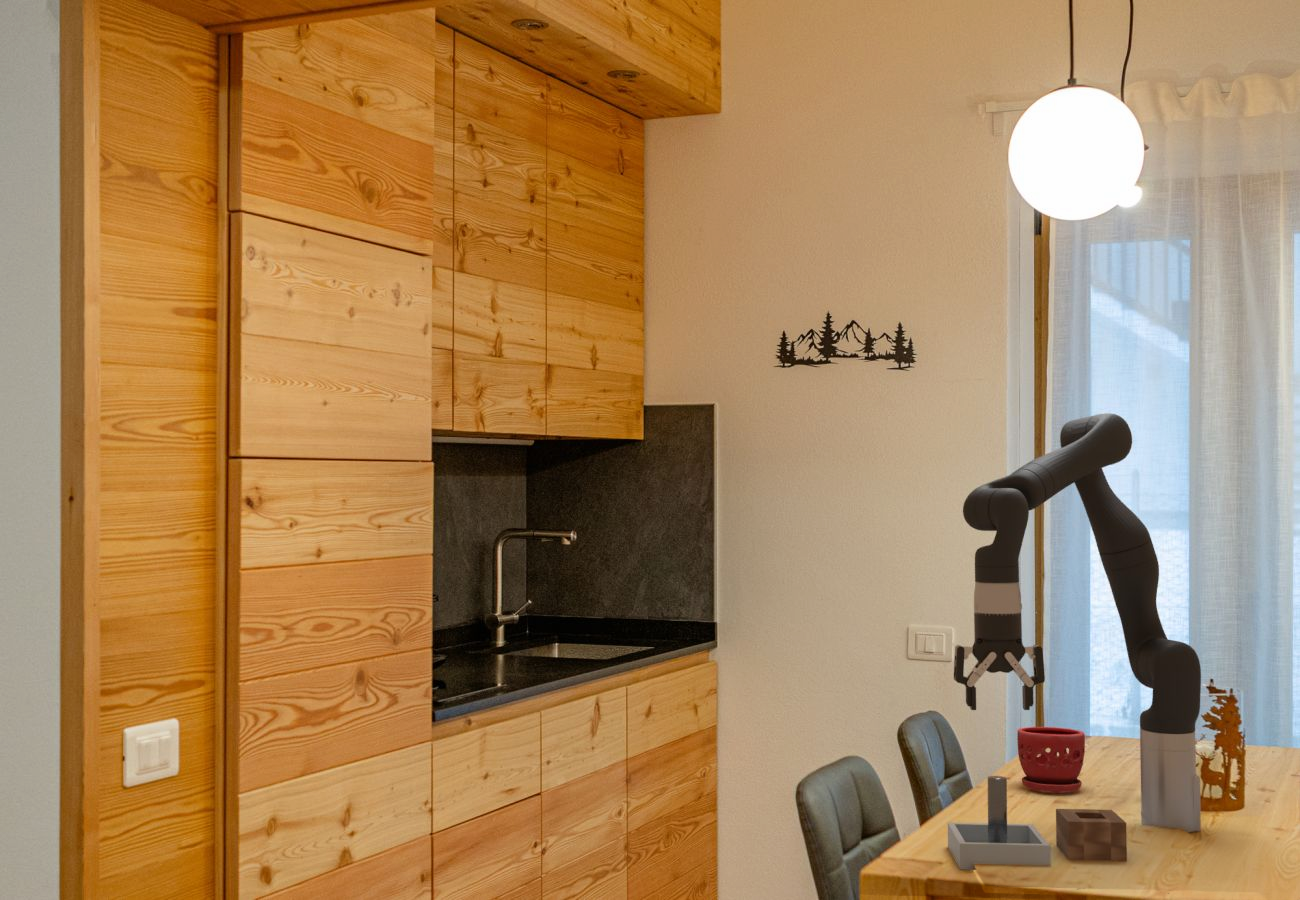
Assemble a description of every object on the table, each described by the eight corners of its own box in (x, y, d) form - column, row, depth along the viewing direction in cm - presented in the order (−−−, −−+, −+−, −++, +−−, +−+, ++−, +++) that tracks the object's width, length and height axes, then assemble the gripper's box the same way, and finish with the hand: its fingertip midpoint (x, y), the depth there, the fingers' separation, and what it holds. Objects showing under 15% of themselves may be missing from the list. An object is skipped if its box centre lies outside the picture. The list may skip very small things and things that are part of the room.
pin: (1005, 850, 217) (1004, 776, 217) (1008, 855, 214) (1008, 779, 214) (986, 849, 217) (986, 775, 217) (989, 854, 214) (989, 779, 214)
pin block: (1112, 852, 219) (1111, 809, 219) (1126, 867, 210) (1126, 822, 210) (1056, 851, 220) (1055, 808, 220) (1068, 866, 211) (1068, 821, 211)
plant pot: (1098, 794, 264) (1097, 733, 264) (1039, 797, 260) (1038, 736, 261) (1062, 781, 276) (1062, 723, 277) (1005, 784, 273) (1005, 725, 274)
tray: (1033, 848, 222) (1032, 824, 222) (1050, 871, 208) (1050, 845, 208) (947, 846, 223) (947, 822, 223) (960, 869, 209) (959, 843, 209)
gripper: (1037, 608, 221) (1039, 706, 220) (950, 608, 222) (951, 706, 221) (1046, 611, 213) (1048, 713, 213) (956, 611, 214) (958, 713, 214)
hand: (999, 709), depth 217 cm, fingers open, 8 cm apart
